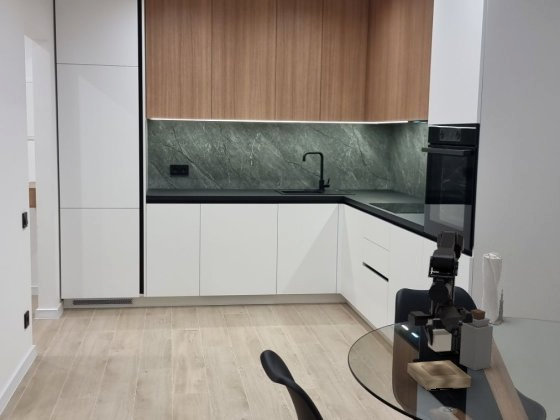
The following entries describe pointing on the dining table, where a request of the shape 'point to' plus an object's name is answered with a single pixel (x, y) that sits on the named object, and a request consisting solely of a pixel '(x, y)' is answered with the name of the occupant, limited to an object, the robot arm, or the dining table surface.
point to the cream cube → (441, 340)
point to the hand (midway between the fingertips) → (439, 344)
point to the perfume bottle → (476, 342)
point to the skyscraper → (492, 288)
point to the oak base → (438, 375)
